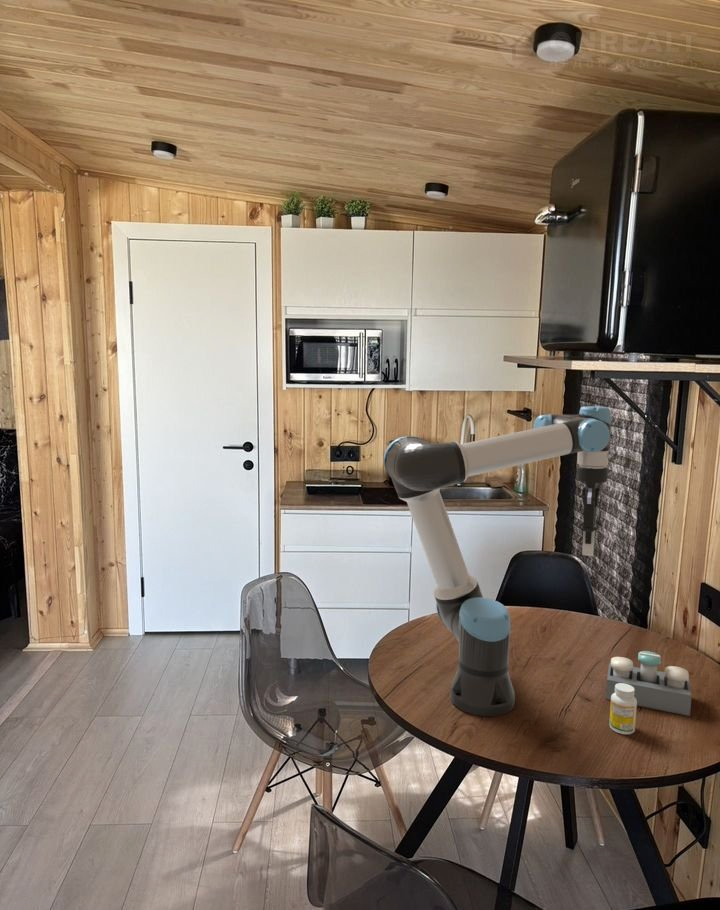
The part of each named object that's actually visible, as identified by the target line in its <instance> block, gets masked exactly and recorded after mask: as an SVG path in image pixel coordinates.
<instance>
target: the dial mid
mask: <svg viewBox="0 0 720 910" xmlns="http://www.w3.org/2000/svg"><path fill="white" fill-rule="evenodd" d="M637 655H638V656H637V661H639V663H640V668H641V670H640V681H642V682H648V683H653V684H656V679H657V671H658V666H660V665H662V656H661V655H660V654H659V653H657V652H654V651H649V650H642V651H639V652H638V654H637Z"/></svg>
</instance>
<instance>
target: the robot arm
mask: <svg viewBox="0 0 720 910" xmlns="http://www.w3.org/2000/svg"><path fill="white" fill-rule="evenodd" d="M611 414H612V413H611V408H609V407H607V406H599V405H598V406H597V405H595V406H591V405H590V406H589V405H586V406H584V405H583V406H581V407H580V409H579V413H577V414H551V413H549V414H541V415H538V416H537V417H535V420H534V422H533V423H534V424H533V428H531V429H525V430H521V431H516V432H512V433H506V434H503V435H497V436H494V437H490V438H483V439H480V440H475V441H470V442H465V443H459V442H457V440H456V441H455V440H453V441H449V442H442V443H441V442H439V443H436V442H435V443H434V442H433V443H432V442H429V441H428V442H427V441H426V440H422V439H421V438H420V437H418V436H411V435H410V436H409V435H408V436H400V437H398V438H395V440H393V441H391V442H390V443H389V445H388V446H387V447H386V449H385V450H384V455H383V466H384V470H385V472H386V473H387V475H388V476H389V477H390V478H391V481H392V483H393V486H394V489H395V491H396V494H397V497H398V499H400V500H402V501H404V502H406V504H407V507H408V509H409V513H410V515H411V518H412V520H413V523H414V526H415V529H416V531H417V534H418V537H419V540H420V543H421V545H422V548H423V550H424V553H425V557H426V559H427V562H428V565H429V568H430V570H431V573H432V575H433V578H434V582H435V584H436V586H435V588H434V590H433V596H434V599H435V601H436V603H435V604H436V605H435V608H436V613H437V616H438V618H439V620H440V622H441V623H442V624H443V625H444V626H445V627H446V628H447V629H448V631H450V633H451V634H452V635H453V636H454V639H456V641H457V642H458V667H457V669H456V673H455V674H454V678H453V681H452V683H451V685H450V694H449V695H450V698H449V699H450V701H451V703H452V702H453V703H454V704H455V705H456V706H457V707H458V708H457V707H456V706H455V705H454V704H453V703H452V704H453V705H454V706H455V707H456V708H457V709H459V708H460V709H459V710H461V709H462V710H463V712H465V711H466V712H465V713H467V712H468V714H470V715H473V716H480V717H498V716H503V715H505V714H508V713H509V712H511V711H512V710H513V709H514V707H515V705H516V704H515V703H516V700H515V699H516V696H515V695H516V694H515V690H514V686H513V684H512V680H511V676H510V673H509V661H510V660H509V659H510V657H509V656H510V639H511V629H512V625H511V624H512V623H511V615H510V612H509V609H508V608H507V607H506V606H505V605H504V604H503V603H501V602H499V601H498V600H493V599H492V598H488V597H484V596H483V593H482V591H481V588H480V585H479V582H478V579H477V578H476V577H475V576H472V575H470V574H469V572H468V569H467V566H466V564H465V563H466V562H465V561H464V557H463V554H462V552H461V549H460V546H459V543H458V540H457V537H456V533H455V531H454V528H453V526H452V523H451V520H450V517H449V514H448V511H447V509H446V505H445V502H444V500H443V497H442V494H441V492H440V490H441V488H442V489H443V488H445V487H449V486H454V485H458V484H462V483H465V482H466V480H467V479H468V478H469V477H474V476H477V475H478V476H479V475H481V474H482V475H483V474H486V473H491V472H495V471H499V470H503V469H504V470H505V469H509V468H513V467H517V466H521V465H527V464H529V463H535V462H539V461H543V460H548V459H553V458H556V457H561V456H566V455H570V454H575V453H577V459H576V460H577V461H576V464H577V465H578V466H577V468H576V480H577V481H578V482H581V483H585V486H583V488H582V497H583V498H582V505H583V522H582V523H583V524H582V525H583V526H582V528H580V532H583V533H582V550H581V553H582V554H581V555H582V556H588V557H594V552H595V551H594V549H595V532H596V531H598V526H596V525H597V523H596V517H597V514H596V513H597V506H598V503H599V495H600V489H601V488H600V487H598V484H604V483H607V481H608V475H609V469H608V467H607V466H609V459H611V458H612V455H611V454H610V452H609V451H610V439H611V438H610V437H611V427H612V416H611ZM462 710H461V711H462Z"/></svg>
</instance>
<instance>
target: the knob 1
mask: <svg viewBox="0 0 720 910" xmlns="http://www.w3.org/2000/svg"><path fill="white" fill-rule="evenodd" d="M610 663H611V667H612V668H614V671H613V676H615V677H621V678H626V679H629V672H630V671H632V670H633V667H634V662H633V660H631V659H630V658H628V657H622V656H613V657H611V659H610Z"/></svg>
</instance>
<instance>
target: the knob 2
mask: <svg viewBox="0 0 720 910" xmlns="http://www.w3.org/2000/svg"><path fill="white" fill-rule="evenodd" d="M664 672H665V676H666V677H667V678H668V682H667V686H669V687H674V688H680V689H684V684H685V681H687V680H688V677H690V676H689V675H690V673H689V671H688V670H686V669H685V668H684V667H680V666H676V665H675V666H673V665H669V666H667V667H665V668H664Z"/></svg>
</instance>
